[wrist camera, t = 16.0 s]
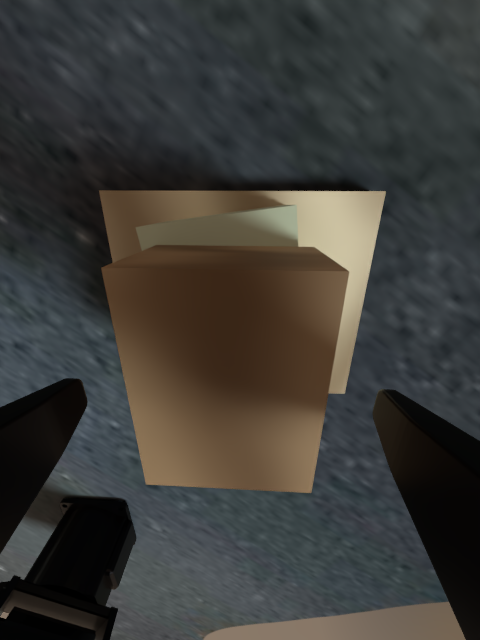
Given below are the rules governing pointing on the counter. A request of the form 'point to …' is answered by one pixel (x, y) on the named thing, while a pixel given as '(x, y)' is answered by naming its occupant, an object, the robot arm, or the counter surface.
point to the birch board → (313, 231)
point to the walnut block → (227, 360)
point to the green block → (227, 229)
